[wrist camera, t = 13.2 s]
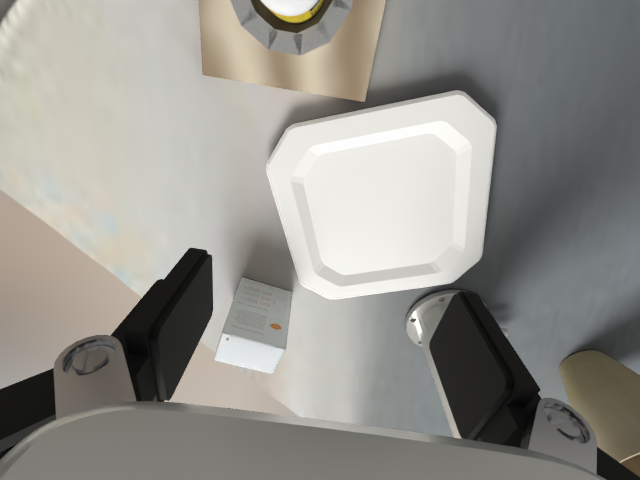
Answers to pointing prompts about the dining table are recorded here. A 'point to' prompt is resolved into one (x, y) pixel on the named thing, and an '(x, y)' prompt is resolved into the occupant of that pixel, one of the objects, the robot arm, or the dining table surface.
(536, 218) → the dining table surface
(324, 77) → the fitting board
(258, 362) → the small box
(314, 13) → the supplement bottle
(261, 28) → the steel ring collar
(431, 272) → the plate
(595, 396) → the plant pot
